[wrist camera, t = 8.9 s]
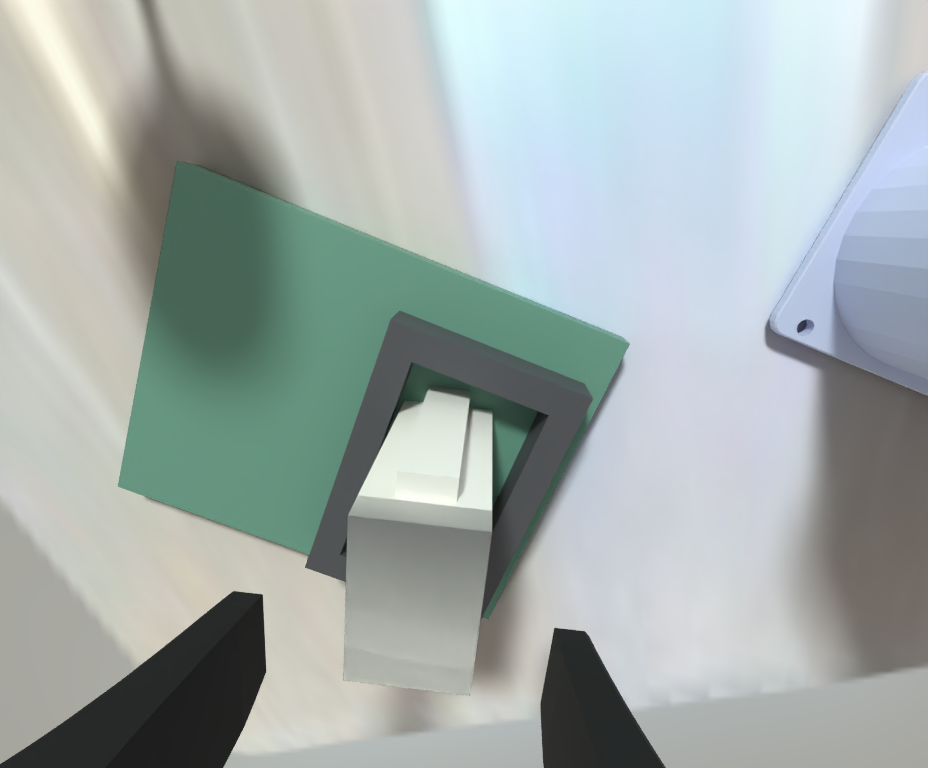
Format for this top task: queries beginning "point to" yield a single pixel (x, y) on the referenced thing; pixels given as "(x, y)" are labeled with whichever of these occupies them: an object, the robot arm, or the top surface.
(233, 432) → the circuit board
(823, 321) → the robot arm
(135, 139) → the top surface
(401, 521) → the plug
